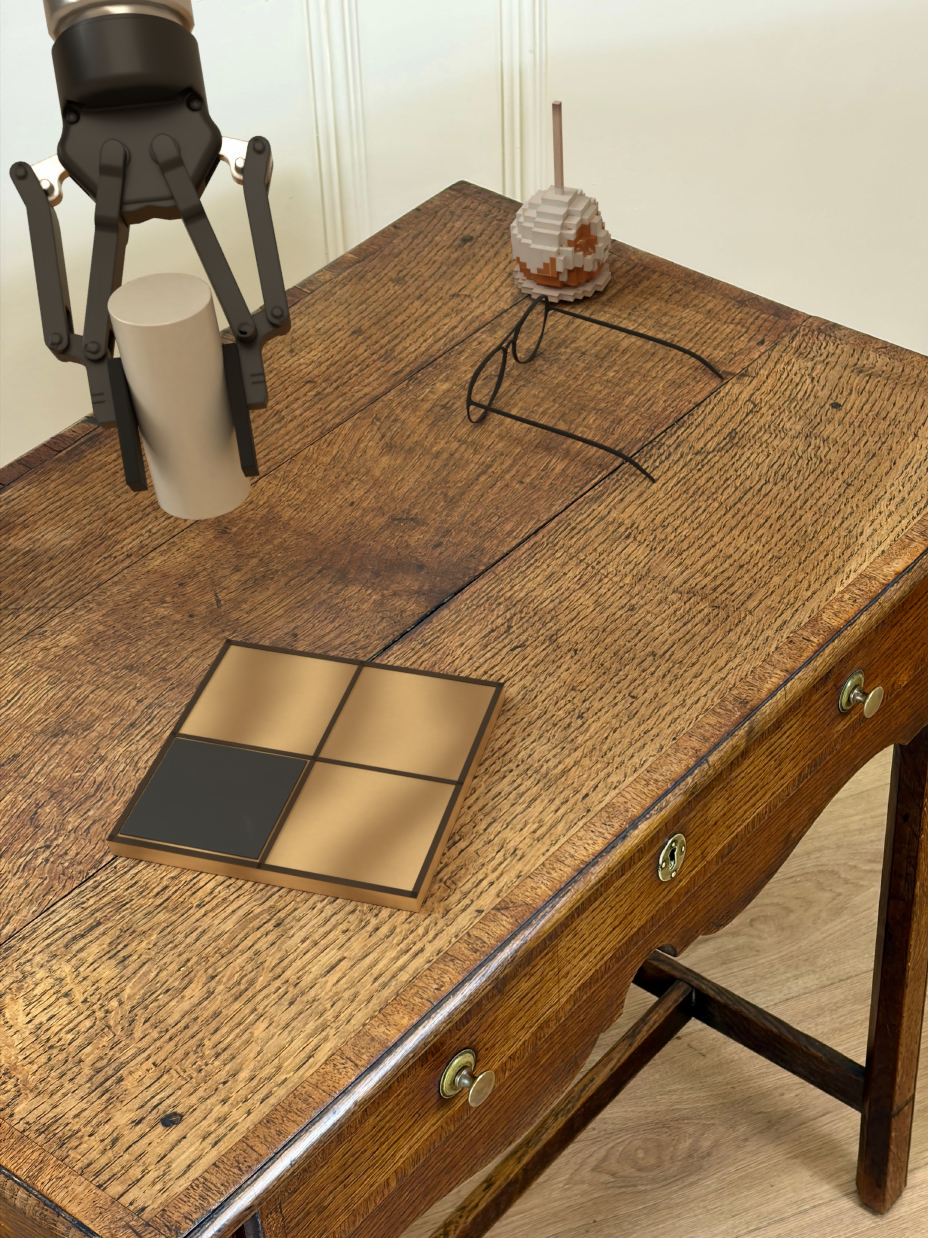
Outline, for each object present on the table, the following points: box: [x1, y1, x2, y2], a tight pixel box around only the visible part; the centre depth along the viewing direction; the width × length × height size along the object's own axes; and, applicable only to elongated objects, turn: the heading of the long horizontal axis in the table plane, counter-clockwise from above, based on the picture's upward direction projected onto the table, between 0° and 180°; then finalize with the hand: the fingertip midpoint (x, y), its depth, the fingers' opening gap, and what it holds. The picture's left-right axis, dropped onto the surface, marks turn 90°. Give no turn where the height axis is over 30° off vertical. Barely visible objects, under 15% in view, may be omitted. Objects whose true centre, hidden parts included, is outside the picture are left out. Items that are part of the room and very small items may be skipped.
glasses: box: [465, 294, 724, 483], centre depth 116 cm, size 14×15×5 cm
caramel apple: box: [509, 100, 612, 303], centre depth 125 cm, size 8×8×15 cm
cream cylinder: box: [108, 272, 252, 521], centre depth 84 cm, size 5×5×12 cm
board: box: [105, 638, 506, 913], centre depth 92 cm, size 18×17×1 cm
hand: (194, 478), depth 83 cm, fingers closed on cream cylinder, 5 cm apart
